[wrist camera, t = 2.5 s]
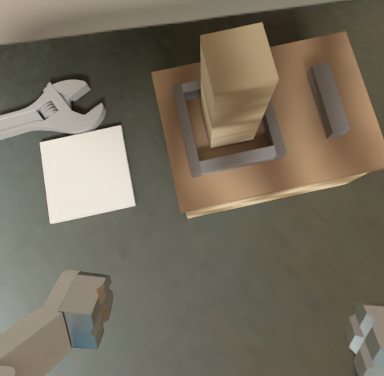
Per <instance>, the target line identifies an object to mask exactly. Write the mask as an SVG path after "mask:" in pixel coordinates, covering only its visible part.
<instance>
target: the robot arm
mask: <svg viewBox="0 0 384 376" xmlns="http://www.w3.org/2000/svg"><path fill="white" fill-rule="evenodd" d="M110 284H111V279H110V276H109V275H104V274H96V273H89V272H81V271H73V270H64V271H63V272H62V273H61V275H60V277H59V279H58V280H57V282H56V284H55V286H54V288H53V289H52V291H51V293H50V295H49V297H48V298H47V300H46V302H45V304H44V306H43V307H42V309H41V310H35V311H34V312H32V313H31V314H30V315H28V316H27V317H25V318H24V319H22V320H21V321H19V322H18V323H16V324H15V325H14V326H12V327H11V328H9V329H8V330H6V331H5V332H3V333H2V334H0V376H45V375H46V374H47V373H48V372H49V371H50V370H51V369H52V368H53V367H54V366H55V365H56V364H57V363H58V362H59V361H60V360H61V359H62V358H63V357H64V356H65V355H67V354H68V353H69V352H70V351H71V350H72V348H80V349H91V350H98V347H99V344H100V342H101V339H102V336H103V333H104V328H103V323H104V322H106V321H107V320H108V319H109V315H110V312H111V308H112V302H113V294H112V291H111V290H110V289H109V287H110ZM354 312H355V315H353V316H351V317H349V319H348V322H347V324H346V338H347V342H348V346H349V348H350V349H351V350H352V351H353V352H354V353H355V354H356V356H355V358H354V360H353V362H354V365H355V368H356V371H357V374H358V376H384V304H378V303H367V302H358V303H357V304H356V305H355V307H354Z"/></svg>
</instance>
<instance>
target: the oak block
mask: <svg viewBox="0 0 384 376" xmlns="http://www.w3.org/2000/svg"><path fill="white" fill-rule="evenodd" d="M200 57H201V112H202V116H203V121H204V125H205V129H206V133H207V137H208V142H209V146H210V150H213V149H217V148H222V147H226V146H231V145H236V144H240V143H245V142H250V141H253V139H254V136H255V134H256V132H257V129H258V127H259V125H260V122H261V120H262V118H263V115H264V113H265V111H266V108H267V106H268V104H269V101H270V99H271V96H272V94H273V92H274V89H275V87H276V85H277V82H278V80H279V77H278V74H277V70H276V67H275V64H274V60H273V57H272V53H271V50H270V47H269V43H268V40H267V36H266V33H265V30H264V26H263V23H262V22H261V23H256V24H252V25H247V26H242V27H237V28H233V29H228V30H223V31H219V32H214V33H209V34H204V35H200Z"/></svg>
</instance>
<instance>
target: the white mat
mask: <svg viewBox="0 0 384 376" xmlns="http://www.w3.org/2000/svg"><path fill="white" fill-rule="evenodd" d="M40 148H41V156H42V164H43V172H44V180H45V187H46V195H47V203H48V211H49V219H50V223H51V224H54V223H59V222H63V221H68V220H73V219H77V218H82V217H86V216H91V215H96V214H100V213H105V212H109V211H114V210H119V209H123V208H128V207H132V206H136V201H135V195H134V190H133V184H132V179H131V173H130V168H129V162H128V157H127V152H126V146H125V141H124V135H123V130H122V126H121V125H119V126H114V127H110V128H105V129H100V130H96V131H91V132H86V133H82V134H77V135H72V136H68V137H63V138H58V139H54V140H49V141H44V142H40Z"/></svg>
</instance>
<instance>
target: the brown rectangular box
mask: <svg viewBox="0 0 384 376" xmlns="http://www.w3.org/2000/svg"><path fill="white" fill-rule="evenodd" d="M270 50H271V53H272V57H273V60H274V64H275V67H276V70H277V74H278V77H279V80H278V82H277V85H276V87H275V89H274V92H273V94H272V96H271V99H270V101H269V104H268V106H267V108H266V111H265V113H264V115H263V118H262V120H261V122H260V125H259V127H258V129H257V132H256V134H255V136H254V139H253V141H250V142H245V143H240V144H236V145H231V146H226V147H222V148H217V149H213V150H210V146H209V142H208V137H207V133H206V129H205V125H204V121H203V116H202V112H201V62H198V63H193V64H188V65H184V66H179V67H174V68H169V69H165V70H160V71H155V72H151V74H152V79H153V83H154V88H155V93H156V98H157V103H158V107H159V112H160V117H161V122H162V126H163V131H164V136H165V141H166V145H167V150H168V155H169V160H170V165H171V169H172V174H173V179H174V184H175V188H176V193H177V198H178V203H179V207H180V212H181V213H186V216H187V218H193V217H197V216H202V215H206V214H211V213H216V212H220V211H225V210H229V209H234V208H238V207H243V206H248V205H252V204H257V203H261V202H266V201H271V200H275V199H280V198H284V197H289V196H293V195H298V194H303V193H307V192H312V191H316V190H321V189H325V188H330V187H335V186H339V185H344V184H347V183H349V182H351V181H353V180H355V179H357V178H359V177H361V176H363V175H364V174H366V173H368V172H373V171H378V170H382V169H384V139H383V136H382V133H381V130H380V127H379V125H378V122H377V119H376V116H375V113H374V110H373V108H372V105H371V102H370V99H369V96H368V93H367V90H366V88H365V85H364V82H363V79H362V76H361V73H360V71H359V68H358V65H357V62H356V59H355V56H354V53H353V51H352V48H351V45H350V42H349V39H348V36H347V34H346V31H344V32H339V33H334V34H329V35H325V36H320V37H315V38H311V39H306V40H301V41H296V42H292V43H287V44H282V45H278V46H273V47H270Z"/></svg>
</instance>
